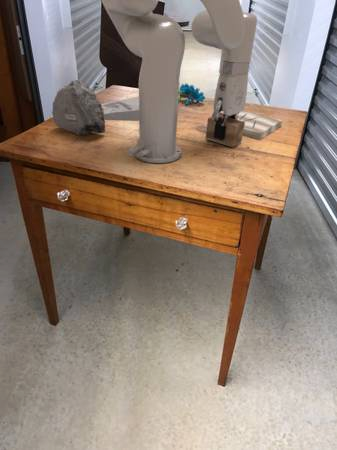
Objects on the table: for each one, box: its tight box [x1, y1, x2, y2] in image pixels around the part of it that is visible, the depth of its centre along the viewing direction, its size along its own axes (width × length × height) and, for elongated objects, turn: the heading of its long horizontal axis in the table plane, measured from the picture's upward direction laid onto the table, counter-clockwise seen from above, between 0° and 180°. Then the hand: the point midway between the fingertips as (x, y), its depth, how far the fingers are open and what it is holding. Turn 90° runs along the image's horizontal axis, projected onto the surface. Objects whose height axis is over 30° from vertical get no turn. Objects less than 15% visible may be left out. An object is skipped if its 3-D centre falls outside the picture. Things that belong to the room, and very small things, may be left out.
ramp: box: [100, 95, 139, 122], centre depth 119 cm, size 28×16×5 cm, turn 72°
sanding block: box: [205, 115, 245, 148], centre depth 102 cm, size 5×9×6 cm, turn 52°
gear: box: [178, 83, 206, 106], centre depth 132 cm, size 11×6×10 cm
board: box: [237, 110, 283, 141], centre depth 114 cm, size 16×16×2 cm
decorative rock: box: [51, 79, 106, 136], centre depth 100 cm, size 16×7×15 cm, turn 58°
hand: (224, 135), depth 102 cm, fingers closed on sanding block, 5 cm apart
